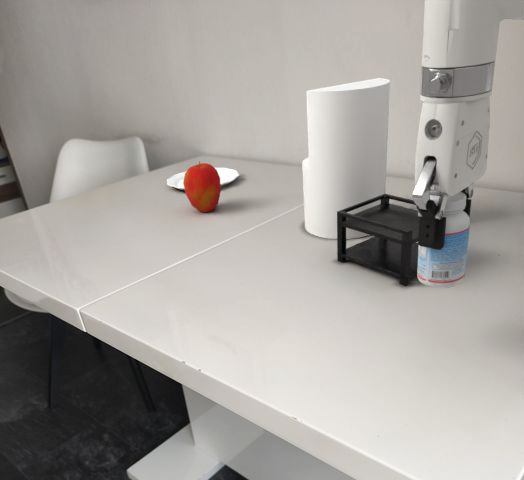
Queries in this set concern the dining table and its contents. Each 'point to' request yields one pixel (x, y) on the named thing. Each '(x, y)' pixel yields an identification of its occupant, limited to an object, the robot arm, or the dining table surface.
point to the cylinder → (344, 152)
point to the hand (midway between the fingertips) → (443, 236)
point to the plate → (224, 173)
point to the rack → (382, 237)
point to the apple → (202, 186)
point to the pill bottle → (447, 247)
